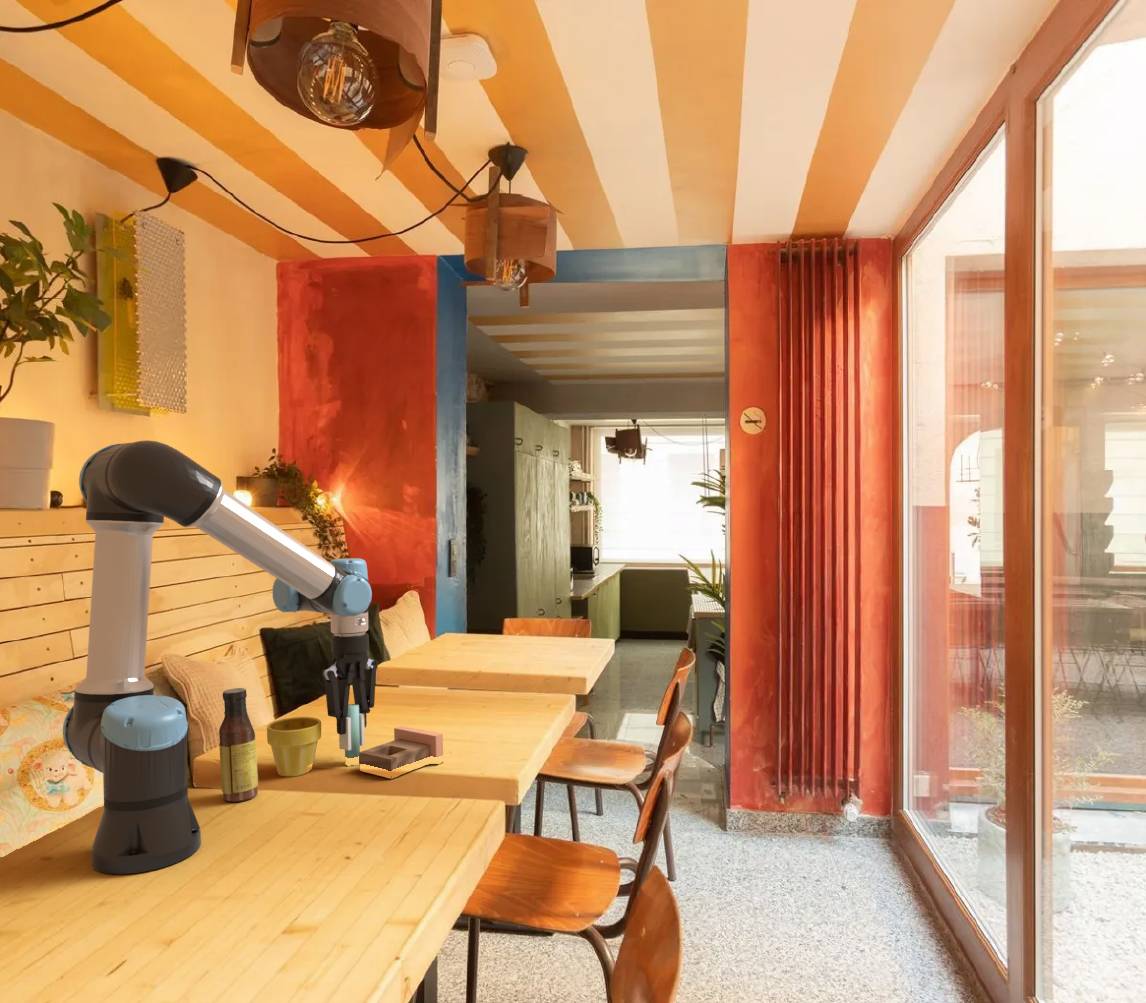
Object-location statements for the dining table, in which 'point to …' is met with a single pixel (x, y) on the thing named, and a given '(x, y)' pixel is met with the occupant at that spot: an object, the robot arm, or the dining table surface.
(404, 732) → the wall
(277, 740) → the plant pot
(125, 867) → the robot arm
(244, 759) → the sauce bottle
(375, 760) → the block
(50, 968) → the dining table surface
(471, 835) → the dining table surface
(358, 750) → the dowel
